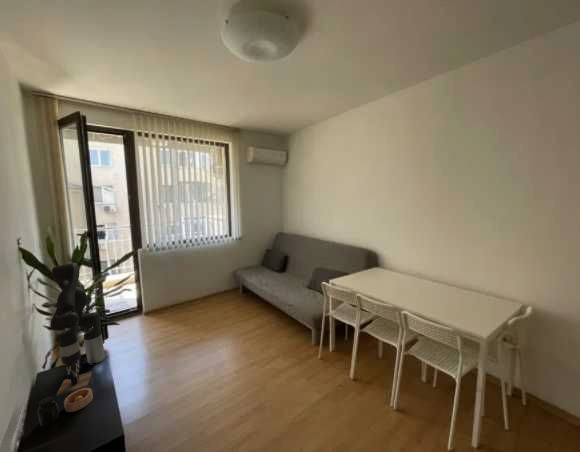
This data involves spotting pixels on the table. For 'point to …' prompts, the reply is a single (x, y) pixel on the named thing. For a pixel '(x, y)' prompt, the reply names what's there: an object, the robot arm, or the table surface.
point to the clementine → (78, 398)
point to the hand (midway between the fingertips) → (75, 382)
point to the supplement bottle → (48, 412)
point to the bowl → (74, 406)
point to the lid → (68, 386)
